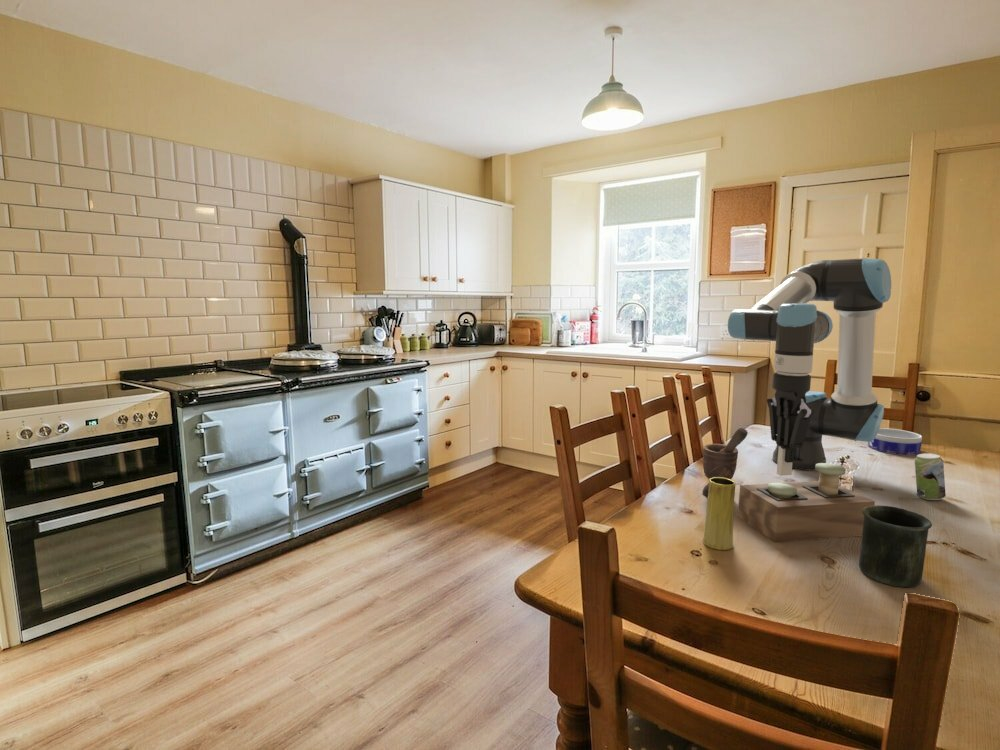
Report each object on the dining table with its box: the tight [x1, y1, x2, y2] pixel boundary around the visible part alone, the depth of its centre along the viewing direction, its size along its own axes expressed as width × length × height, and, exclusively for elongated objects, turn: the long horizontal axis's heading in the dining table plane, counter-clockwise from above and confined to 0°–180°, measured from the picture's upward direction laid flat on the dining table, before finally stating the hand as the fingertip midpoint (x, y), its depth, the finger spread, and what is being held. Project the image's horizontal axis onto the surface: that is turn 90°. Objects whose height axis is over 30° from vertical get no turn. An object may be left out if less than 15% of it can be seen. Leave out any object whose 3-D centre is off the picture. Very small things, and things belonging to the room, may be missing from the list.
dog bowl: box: [867, 427, 923, 456], centre depth 194 cm, size 15×15×6 cm
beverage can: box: [914, 452, 947, 501], centre depth 146 cm, size 6×7×12 cm
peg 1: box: [767, 482, 797, 498], centre depth 127 cm, size 6×6×8 cm
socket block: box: [737, 480, 876, 543], centre depth 128 cm, size 14×24×8 cm, turn 99°
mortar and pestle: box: [702, 427, 749, 497], centre depth 146 cm, size 12×9×20 cm
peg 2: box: [815, 462, 846, 495], centre depth 129 cm, size 6×6×8 cm
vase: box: [702, 477, 736, 551], centre depth 118 cm, size 6×6×14 cm
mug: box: [858, 504, 933, 588], centre depth 107 cm, size 11×15×12 cm
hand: (783, 474), depth 127 cm, fingers closed
